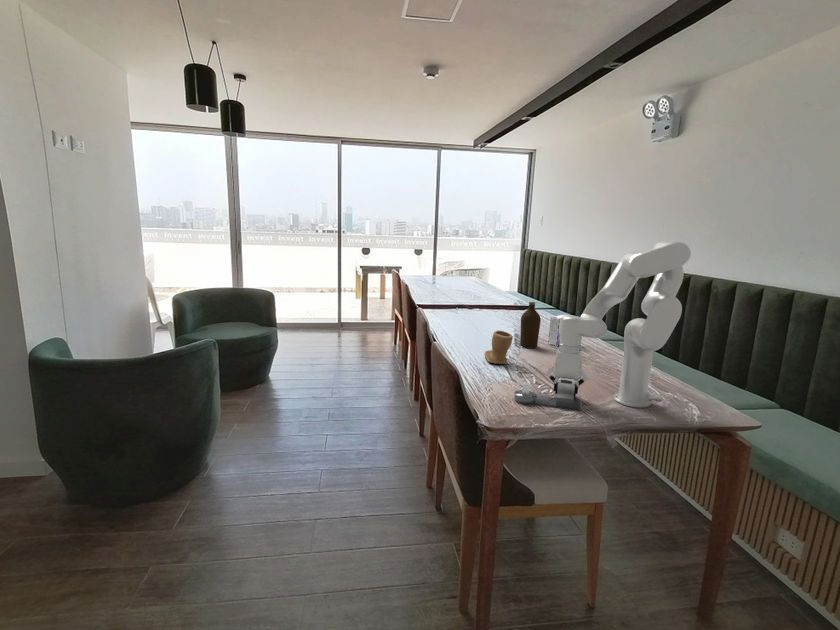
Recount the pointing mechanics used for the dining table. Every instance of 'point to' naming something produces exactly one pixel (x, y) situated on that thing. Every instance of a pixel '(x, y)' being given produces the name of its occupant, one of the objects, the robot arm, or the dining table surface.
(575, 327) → the robot arm
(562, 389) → the socket
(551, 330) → the candy box
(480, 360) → the dining table surface
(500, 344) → the tan boot
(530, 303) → the olive oil
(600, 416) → the dining table surface
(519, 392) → the ratchet
